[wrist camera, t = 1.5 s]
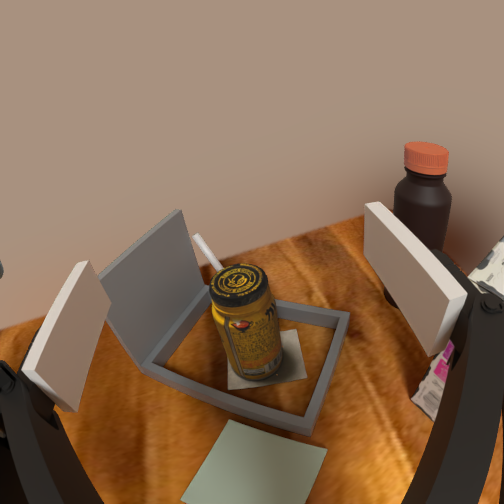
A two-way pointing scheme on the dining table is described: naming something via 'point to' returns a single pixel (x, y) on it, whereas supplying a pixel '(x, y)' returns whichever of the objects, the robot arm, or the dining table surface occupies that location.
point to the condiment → (253, 329)
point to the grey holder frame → (194, 318)
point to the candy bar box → (432, 385)
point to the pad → (255, 469)
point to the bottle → (423, 196)
